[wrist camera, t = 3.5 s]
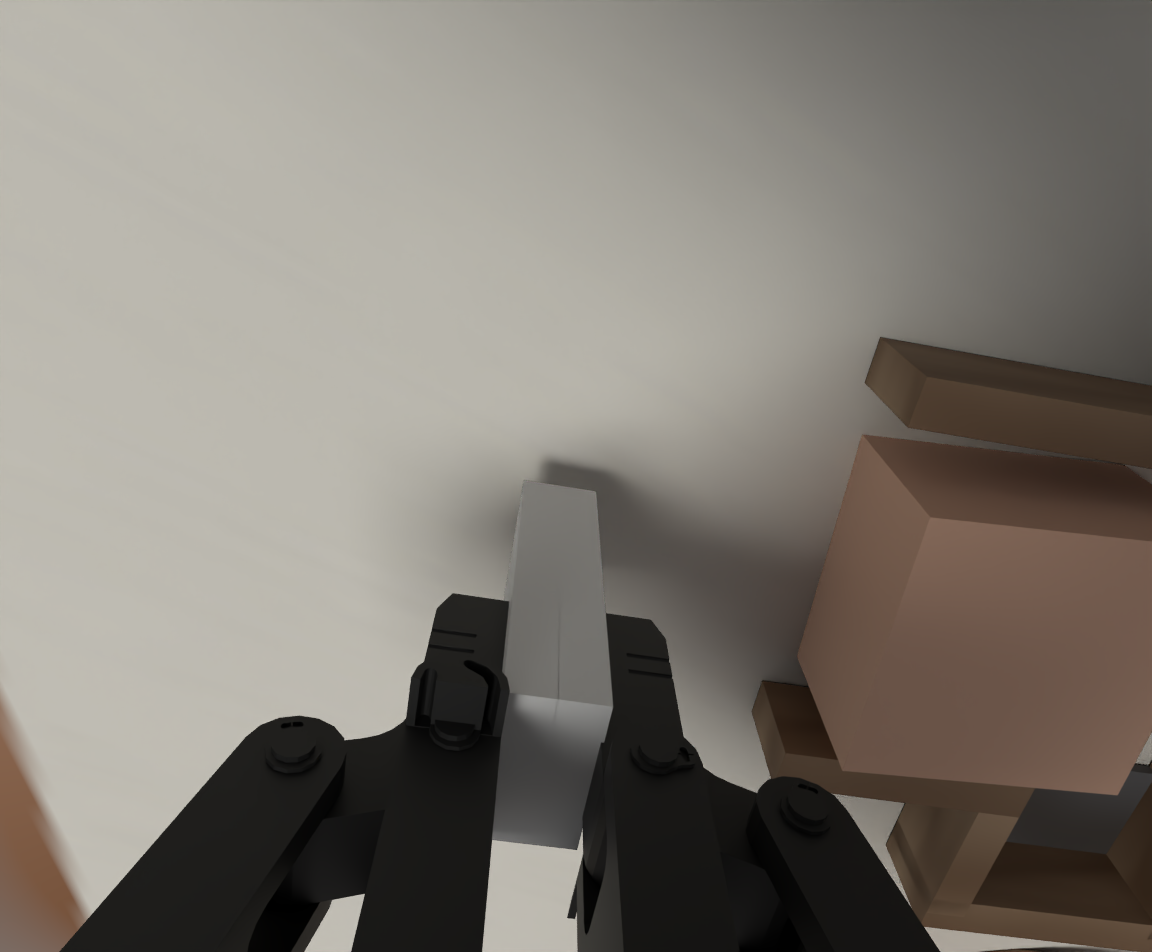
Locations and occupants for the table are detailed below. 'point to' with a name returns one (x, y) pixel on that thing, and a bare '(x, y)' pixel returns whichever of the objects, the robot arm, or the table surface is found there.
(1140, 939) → the box
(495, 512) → the table surface
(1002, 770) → the block
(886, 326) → the table surface
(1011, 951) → the tin
